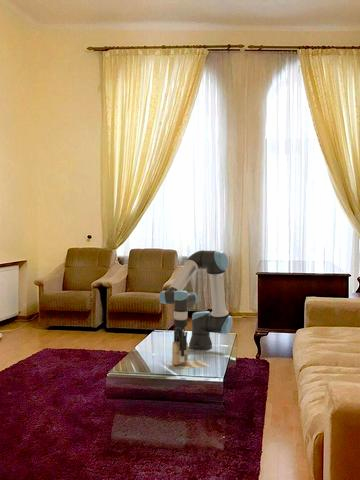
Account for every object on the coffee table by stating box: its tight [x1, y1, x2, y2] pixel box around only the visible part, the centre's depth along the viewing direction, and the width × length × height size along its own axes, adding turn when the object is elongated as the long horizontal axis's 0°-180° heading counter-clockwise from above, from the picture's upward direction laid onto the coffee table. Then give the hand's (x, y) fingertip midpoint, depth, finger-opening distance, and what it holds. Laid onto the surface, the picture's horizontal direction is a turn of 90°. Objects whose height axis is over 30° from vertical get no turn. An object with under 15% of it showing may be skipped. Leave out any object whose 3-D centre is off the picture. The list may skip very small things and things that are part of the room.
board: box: [166, 359, 211, 370], centre depth 303 cm, size 20×16×1 cm
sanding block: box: [171, 341, 189, 365], centre depth 301 cm, size 7×5×12 cm
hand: (179, 360), depth 301 cm, fingers closed on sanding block, 5 cm apart
